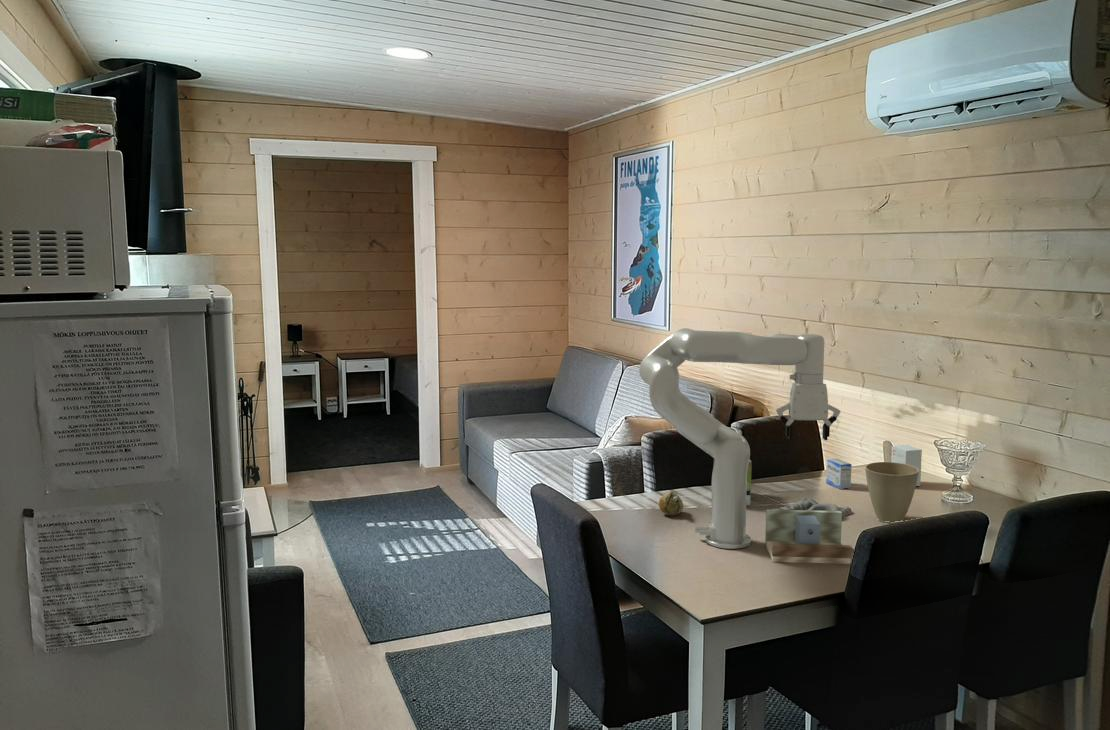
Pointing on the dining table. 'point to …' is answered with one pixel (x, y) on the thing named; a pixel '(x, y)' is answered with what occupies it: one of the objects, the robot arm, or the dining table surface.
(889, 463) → the plant pot
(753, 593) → the dining table surface
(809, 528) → the cabinet block
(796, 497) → the dining table surface
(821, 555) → the upright panel stand
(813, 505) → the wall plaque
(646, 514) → the dining table surface
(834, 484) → the medicine box
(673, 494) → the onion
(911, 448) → the small box
